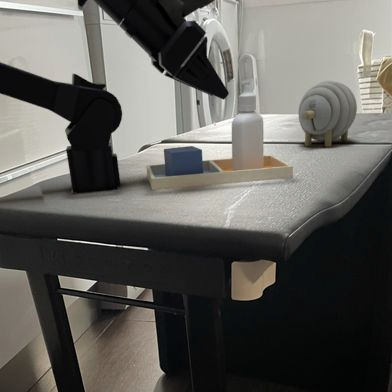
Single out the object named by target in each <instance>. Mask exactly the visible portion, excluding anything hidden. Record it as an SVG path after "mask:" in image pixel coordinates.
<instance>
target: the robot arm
mask: <svg viewBox="0 0 392 392" xmlns="http://www.w3.org/2000/svg"><path fill="white" fill-rule="evenodd" d="M90 1H91V0H77V8H78V10H79V11H83V10H84V9H85V8H86V6H87V5H88V4H89V2H90ZM92 1H93V2H94V3H95V4H96V5H97V6H98V7H99V8H100V9H101V10H102V11H103V12H104V13H105V14H106V15H108V17H109V18H110V19H111V20H112V21H114V22H115V23H116V24H117V25H118V26H119V28H121V30H123V31H124V33H125V35H126V36H127V37H128V38H129V39H132V40H133V41H134V42H135V43H136V44H137V45H138V46H139V47H140V48H141V49H142V50H143V51H144V52H145V53H146V54H147V55H148V57H149V58H150V60H151V65H152V66H153V67H154V68H155V70H157V71H158V72H159V73H160V74H163V73H164V72H165V73H164V74H163V76H165V77H167V78H169V79H171V80H174V81H176V82H179V83H181V84H183V85H186V86H188V87H191V88H192V89H195V90H198V91H199V92H201V93H204V94H206V95H209V96H211V97H212V96H214V97H216V98H219V99H221V100H225V99H227V97H228V96H229V94H230V93H229V90H228V88H226V85H225V84H224V82H223V81H222V79H221V77H220V76H219V74H218V73H217V71H216V69H215V68H214V66H213V64H212V63H211V61H210V59H209V57H208V36H207V35H206V34H207V32H206V31H205V30H204V29H203V28H202V26H200V24H199V23H198V22H197V21H196V20H186V19H185V18H186V17H188V16H189V15H191V14H192V13H194V12H196V11H197V10H199V9H200V10H202V9H203V8H205V7H207V6H209V5H210V4H211V3H213V2H215V0H92ZM106 86H107V85H106V84H105V83H102V82H92V81H89V80H87V79H86V78H84V77H82V76H80V75H79V74H77V73H72V74H71V83H70V82H62V81H56V80H52V79H51V78H50V79H49V78H47V77H44V76H41V75H38V74H36V73H33V72H30V71H27V70H25V69H22V68H18V67H15V66H12V65H10V64H7V63H4V62H1V61H0V95H3V96H7V97H9V98H13V99H15V100H18V101H20V102H24V103H28V104H30V105H32V106H33V105H34V106H36V107H40V108H42V109H45V110H48V111H50V112H52V113H54V114H56V115H57V116H59V117H61V118H62V119H64V120H66V121H68V122H69V124H67V126H66V128H65V129H64V133H65V136H66V139H67V141H68V143H69V145H67V146H66V149H65V152H66V159H67V164H68V171H69V176H70V177H69V178H70V182H71V192H70V193H71V194H72V195H73V194H84V193H85V194H86V193H98V192H111V191H117V190H118V187H120V186H121V178H120V177H121V175H120V170H119V160H118V155H117V153H113V147H112V142H110V141H111V136H112V134H113V133H115V132H116V131H117V130H118V128H119V127H120V125H121V123H122V119H123V109H122V105H121V103H120V101H119V100H118V98H117V96H115V94H113V93H111V92H110V91H108V90H105V88H106Z"/></svg>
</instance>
